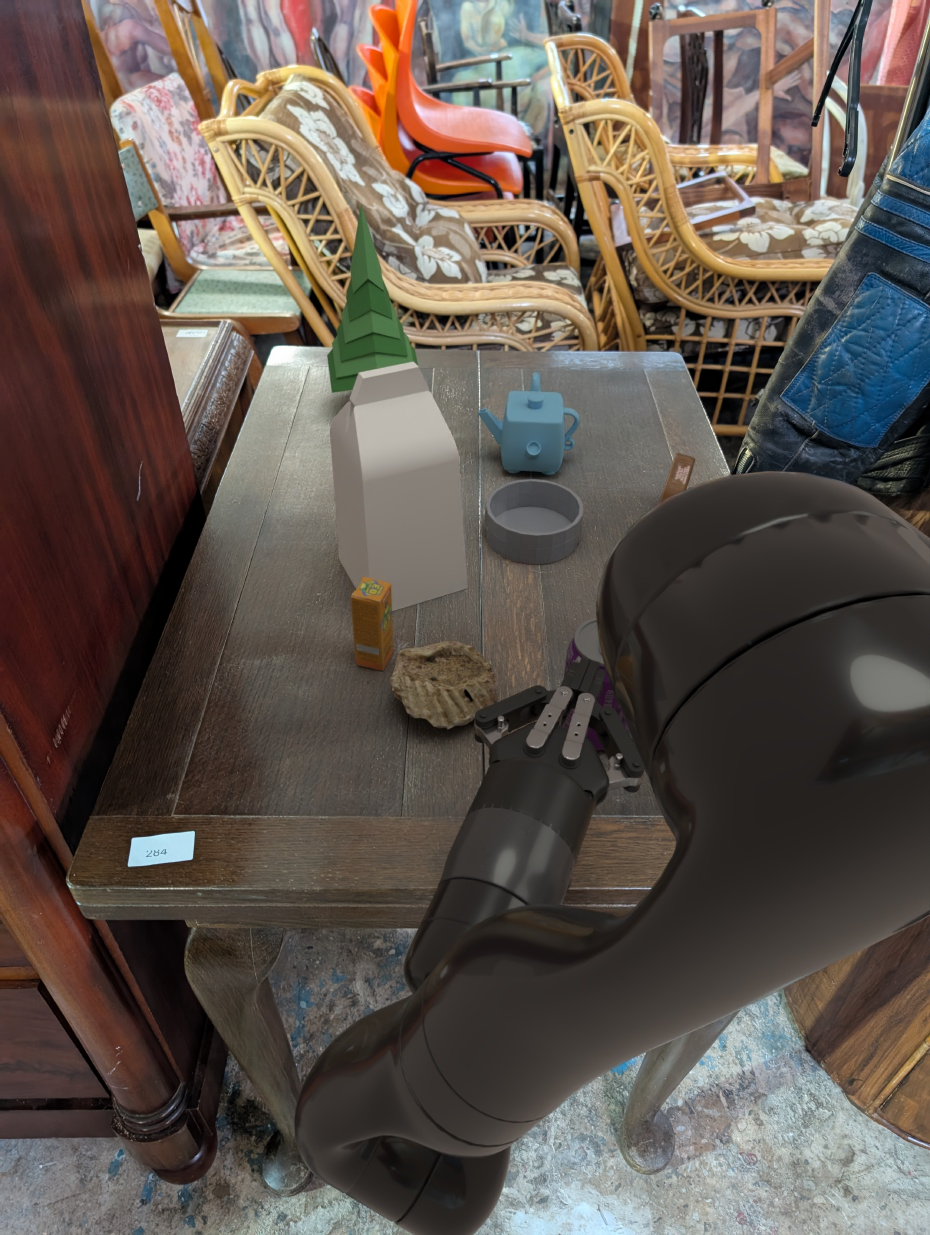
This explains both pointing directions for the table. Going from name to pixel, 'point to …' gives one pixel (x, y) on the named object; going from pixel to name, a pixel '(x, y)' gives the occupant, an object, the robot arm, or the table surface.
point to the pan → (533, 521)
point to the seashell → (443, 683)
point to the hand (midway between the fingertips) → (589, 667)
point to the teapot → (532, 430)
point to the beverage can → (589, 648)
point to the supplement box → (372, 623)
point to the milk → (398, 488)
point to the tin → (678, 475)
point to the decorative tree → (366, 320)
